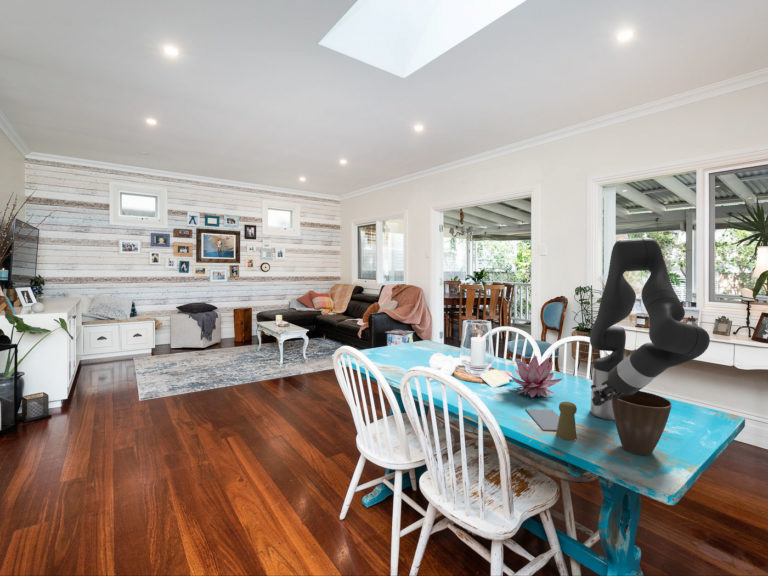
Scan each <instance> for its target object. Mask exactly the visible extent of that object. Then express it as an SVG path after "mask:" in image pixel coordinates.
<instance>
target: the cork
mask: <svg viewBox="0 0 768 576" xmlns="http://www.w3.org/2000/svg"><path fill="white" fill-rule="evenodd" d="M558 404H559V405H558V409H559V412H560V413H559V416H560V417H559V422H558V427H557V431H555V436H557V438H559V437H560V438H559V439H561V438H562V440H564V439H565V440H564V441H571V440H572V441H576V440H577V439H578V437H577V427H576V426H577V425H576V418H575V415H576V414H577V412H578V411H577V409H578V408H577V406H576V404H575V403H574V402H570V401H561V402H560V403H558ZM575 439H576V440H575Z"/></svg>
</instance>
